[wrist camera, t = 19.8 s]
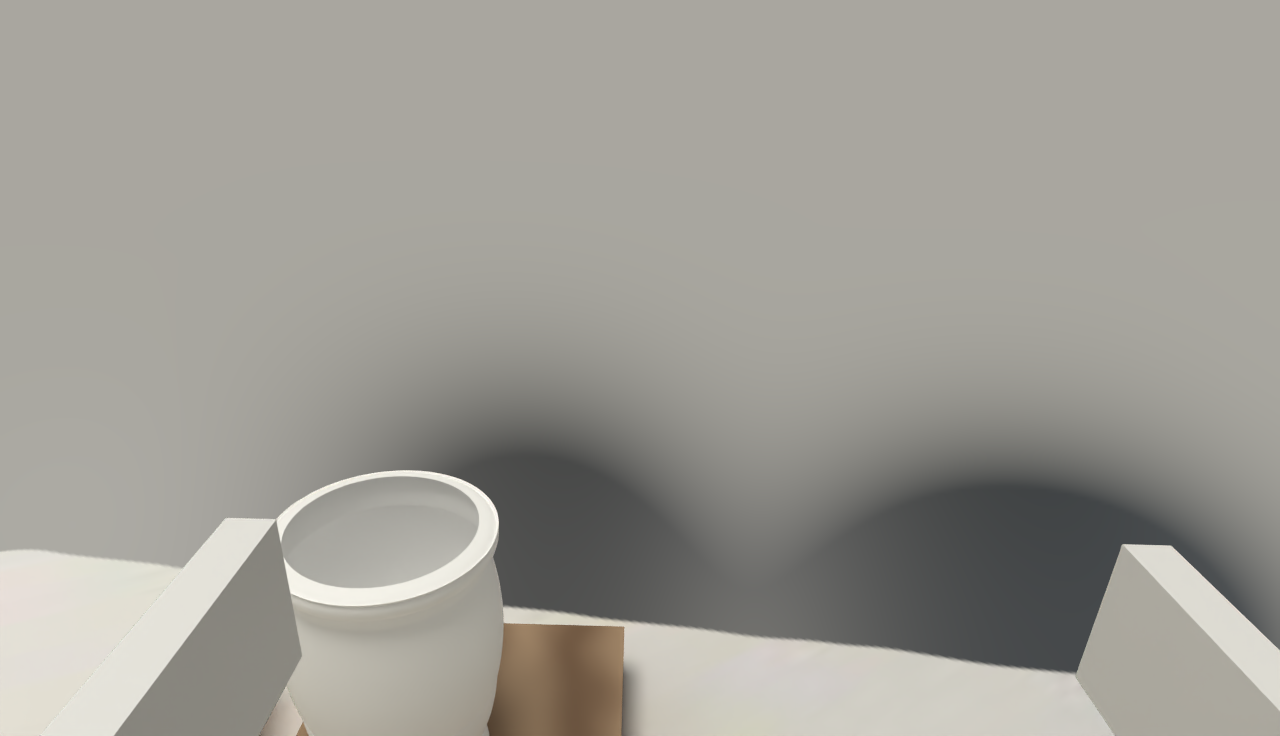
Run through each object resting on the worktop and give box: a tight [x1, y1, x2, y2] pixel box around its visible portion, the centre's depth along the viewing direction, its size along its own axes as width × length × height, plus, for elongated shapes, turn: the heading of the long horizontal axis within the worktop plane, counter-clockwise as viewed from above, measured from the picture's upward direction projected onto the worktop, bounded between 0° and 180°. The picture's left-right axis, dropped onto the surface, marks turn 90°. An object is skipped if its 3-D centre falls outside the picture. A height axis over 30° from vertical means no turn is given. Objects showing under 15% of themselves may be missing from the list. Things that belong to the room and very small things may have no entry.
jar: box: [276, 470, 504, 736], centre depth 38 cm, size 11×10×15 cm
